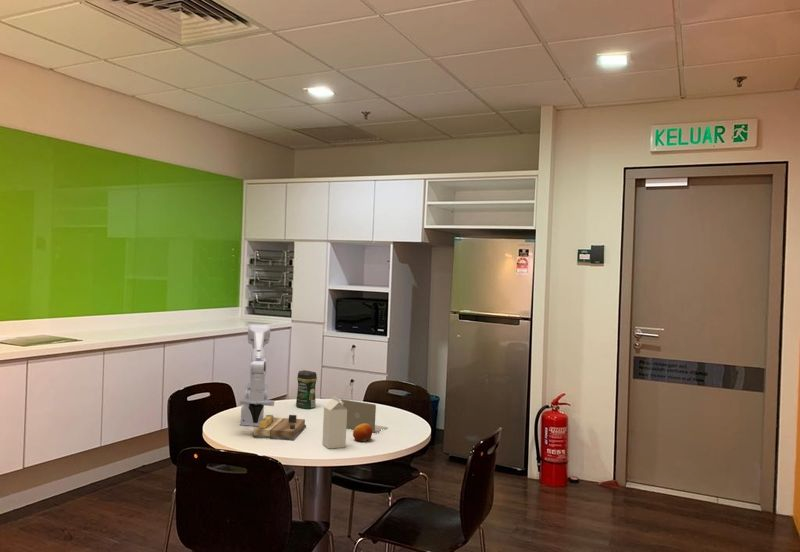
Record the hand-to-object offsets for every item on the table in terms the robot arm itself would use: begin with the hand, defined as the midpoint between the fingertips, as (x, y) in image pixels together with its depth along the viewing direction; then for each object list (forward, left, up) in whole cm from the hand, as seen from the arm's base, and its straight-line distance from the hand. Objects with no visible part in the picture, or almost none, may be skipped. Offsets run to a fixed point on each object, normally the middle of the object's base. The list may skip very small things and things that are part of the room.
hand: (255, 422), depth 244 cm
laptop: (+43, +22, -6) cm, 48 cm away
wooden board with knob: (+9, +6, -5) cm, 12 cm away
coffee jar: (+8, +56, -5) cm, 57 cm away
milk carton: (+35, -9, -5) cm, 36 cm away
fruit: (+45, +2, -5) cm, 45 cm away
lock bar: (+4, +3, -1) cm, 5 cm away
